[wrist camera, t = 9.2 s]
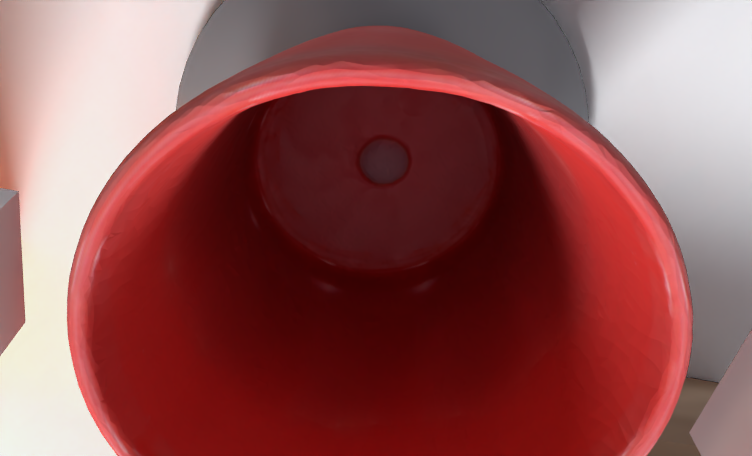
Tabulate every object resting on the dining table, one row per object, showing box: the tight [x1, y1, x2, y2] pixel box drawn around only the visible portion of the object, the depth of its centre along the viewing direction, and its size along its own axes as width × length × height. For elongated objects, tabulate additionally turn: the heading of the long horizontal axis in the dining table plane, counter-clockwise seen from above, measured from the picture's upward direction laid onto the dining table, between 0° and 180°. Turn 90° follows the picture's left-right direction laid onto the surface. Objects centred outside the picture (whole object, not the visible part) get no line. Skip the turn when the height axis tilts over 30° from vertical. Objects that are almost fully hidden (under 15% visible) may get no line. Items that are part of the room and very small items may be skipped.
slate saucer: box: [176, 0, 589, 122], centre depth 20 cm, size 12×12×1 cm
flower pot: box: [67, 26, 693, 456], centre depth 16 cm, size 11×11×10 cm
